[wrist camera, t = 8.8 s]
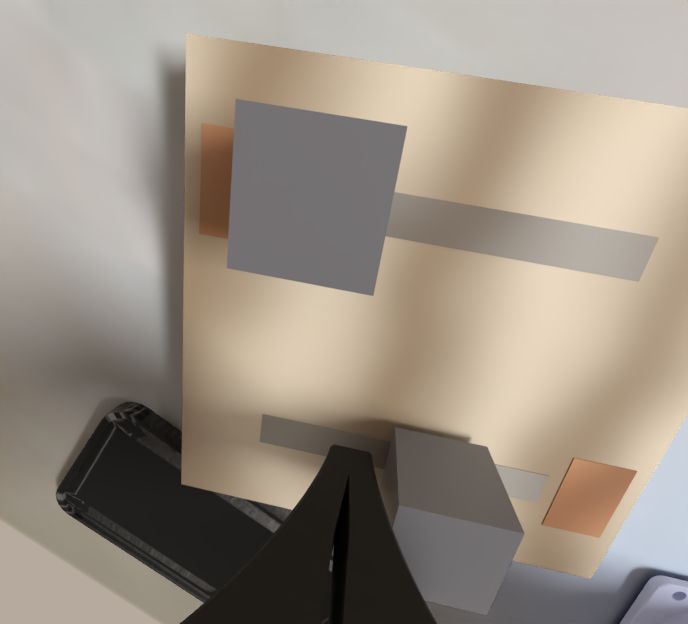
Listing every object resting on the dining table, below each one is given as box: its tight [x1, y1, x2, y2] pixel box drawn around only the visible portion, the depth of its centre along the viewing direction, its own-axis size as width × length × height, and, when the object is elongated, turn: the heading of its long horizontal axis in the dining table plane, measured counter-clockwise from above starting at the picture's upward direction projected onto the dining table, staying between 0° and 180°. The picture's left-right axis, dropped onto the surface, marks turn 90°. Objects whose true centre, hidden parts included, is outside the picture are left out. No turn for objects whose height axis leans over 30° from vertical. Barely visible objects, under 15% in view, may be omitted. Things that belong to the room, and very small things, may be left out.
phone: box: [56, 402, 334, 624], centre depth 17 cm, size 8×1×15 cm
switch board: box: [181, 33, 688, 579], centre depth 11 cm, size 16×15×2 cm
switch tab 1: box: [227, 99, 408, 296], centre depth 8 cm, size 3×3×3 cm
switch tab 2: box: [379, 427, 525, 616], centre depth 10 cm, size 3×3×3 cm
